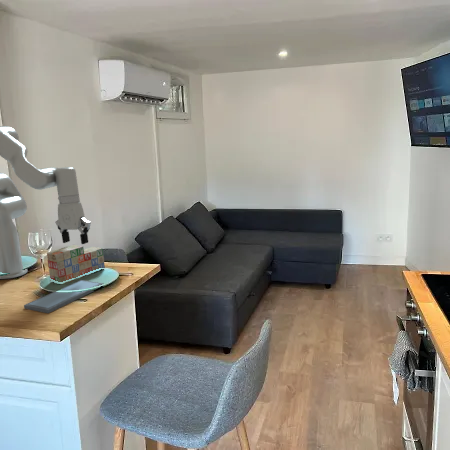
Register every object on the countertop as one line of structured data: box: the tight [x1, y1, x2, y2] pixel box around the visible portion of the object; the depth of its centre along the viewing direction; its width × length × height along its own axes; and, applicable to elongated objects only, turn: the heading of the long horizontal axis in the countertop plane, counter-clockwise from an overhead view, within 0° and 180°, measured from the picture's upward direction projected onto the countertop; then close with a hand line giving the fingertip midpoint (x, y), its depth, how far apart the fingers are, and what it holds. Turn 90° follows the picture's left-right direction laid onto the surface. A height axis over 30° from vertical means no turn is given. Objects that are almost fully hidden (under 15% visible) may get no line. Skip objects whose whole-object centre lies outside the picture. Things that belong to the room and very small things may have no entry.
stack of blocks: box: [46, 244, 106, 282], centre depth 179 cm, size 21×6×12 cm, turn 143°
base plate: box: [23, 279, 104, 314], centre depth 158 cm, size 11×26×1 cm, turn 153°
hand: (75, 242), depth 177 cm, fingers open, 9 cm apart
